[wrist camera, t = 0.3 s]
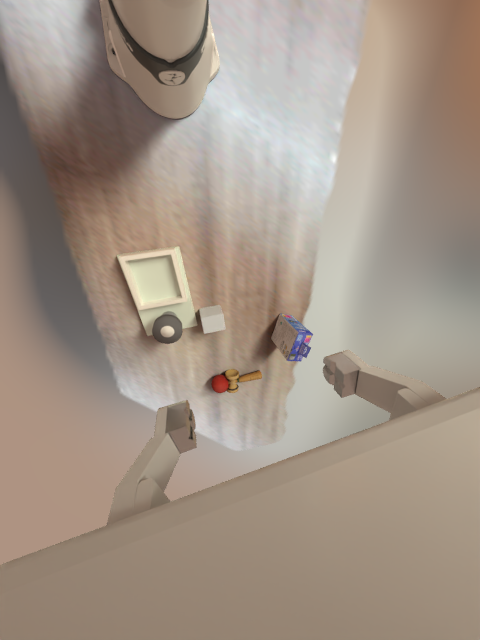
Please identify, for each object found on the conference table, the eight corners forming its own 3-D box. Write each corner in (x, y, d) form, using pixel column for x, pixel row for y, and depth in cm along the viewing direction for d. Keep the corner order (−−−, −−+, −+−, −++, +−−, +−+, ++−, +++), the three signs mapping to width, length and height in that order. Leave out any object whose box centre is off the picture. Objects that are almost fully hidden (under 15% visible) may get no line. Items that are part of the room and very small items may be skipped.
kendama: (257, 359, 75) (209, 371, 69) (265, 373, 70) (214, 387, 64) (254, 373, 80) (209, 385, 74) (261, 386, 75) (214, 400, 69)
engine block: (199, 308, 59) (200, 318, 54) (219, 304, 60) (223, 313, 55) (202, 323, 61) (204, 333, 56) (222, 319, 62) (225, 329, 57)
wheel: (149, 317, 50) (148, 322, 48) (178, 311, 51) (178, 316, 49) (158, 340, 54) (156, 346, 51) (185, 335, 55) (185, 340, 52)
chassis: (118, 254, 48) (113, 257, 44) (179, 245, 50) (178, 248, 47) (148, 333, 58) (146, 340, 55) (197, 323, 61) (198, 330, 57)
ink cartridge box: (284, 340, 72) (305, 367, 59) (270, 339, 70) (289, 366, 58) (294, 315, 68) (318, 338, 55) (279, 313, 66) (301, 336, 54)
